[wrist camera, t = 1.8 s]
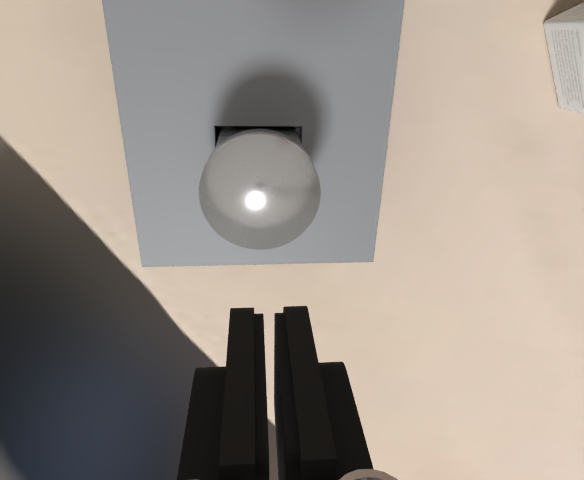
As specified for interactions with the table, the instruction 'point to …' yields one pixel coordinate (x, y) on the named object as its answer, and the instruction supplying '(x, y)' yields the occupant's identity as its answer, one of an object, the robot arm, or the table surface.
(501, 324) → the table surface
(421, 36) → the table surface
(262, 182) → the grey plunger
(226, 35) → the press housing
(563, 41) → the skincare box
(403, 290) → the table surface
